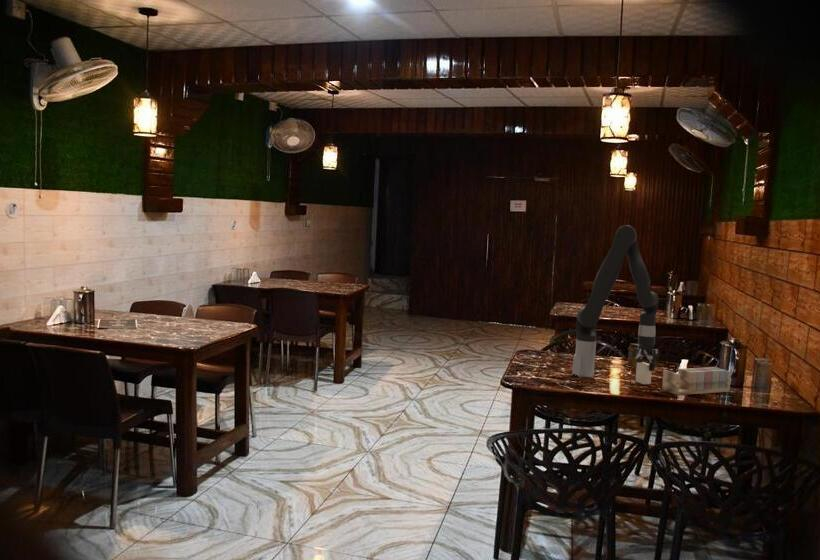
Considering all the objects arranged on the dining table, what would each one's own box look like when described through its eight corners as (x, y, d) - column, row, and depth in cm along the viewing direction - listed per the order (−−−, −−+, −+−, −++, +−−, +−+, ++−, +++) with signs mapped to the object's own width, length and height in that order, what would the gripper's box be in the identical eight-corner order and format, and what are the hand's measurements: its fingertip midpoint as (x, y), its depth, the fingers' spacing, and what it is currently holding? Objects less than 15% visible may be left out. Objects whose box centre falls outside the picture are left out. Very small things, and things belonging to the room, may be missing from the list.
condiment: (642, 368, 338) (644, 345, 337) (627, 367, 336) (629, 345, 335) (636, 365, 345) (637, 342, 344) (621, 364, 344) (622, 342, 343)
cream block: (643, 384, 300) (645, 365, 300) (635, 381, 306) (636, 362, 305) (650, 383, 302) (652, 364, 301) (642, 381, 307) (643, 362, 306)
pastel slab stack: (729, 391, 293) (730, 370, 292) (676, 394, 282) (678, 373, 282) (713, 386, 301) (715, 366, 301) (661, 389, 291) (663, 368, 290)
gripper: (629, 332, 308) (628, 366, 309) (651, 337, 294) (649, 372, 296) (642, 331, 310) (640, 365, 312) (664, 336, 297) (662, 371, 299)
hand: (644, 368), depth 304 cm, fingers open, 8 cm apart
